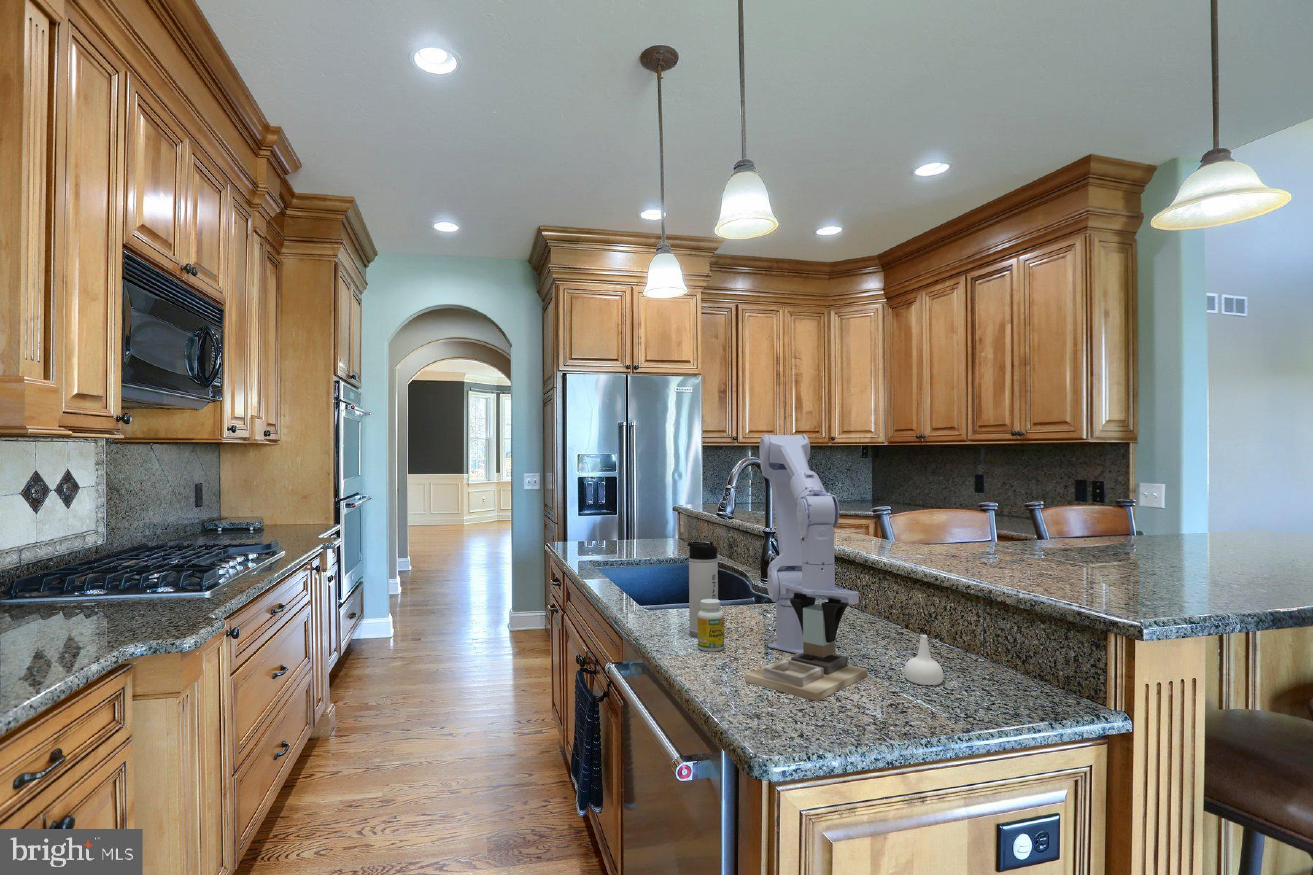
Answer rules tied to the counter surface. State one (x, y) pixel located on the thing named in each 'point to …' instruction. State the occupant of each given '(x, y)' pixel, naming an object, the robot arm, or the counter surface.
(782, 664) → the board
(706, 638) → the supplement bottle
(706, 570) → the travel mug
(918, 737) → the counter surface
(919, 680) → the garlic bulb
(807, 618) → the banded peg
